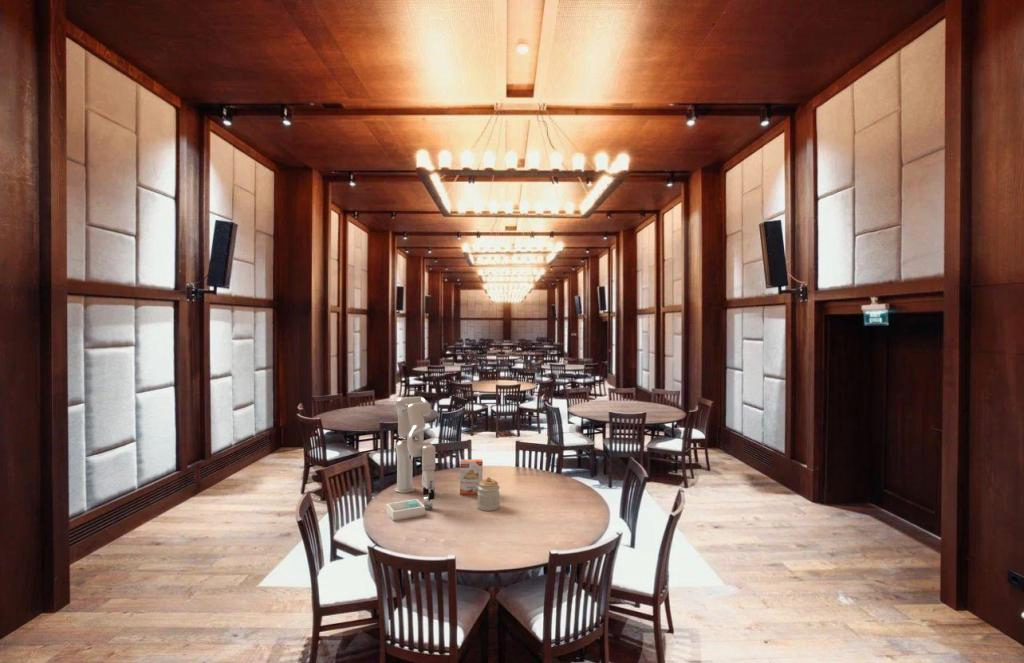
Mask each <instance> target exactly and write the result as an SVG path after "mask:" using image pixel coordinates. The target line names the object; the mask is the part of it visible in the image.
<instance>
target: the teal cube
mask: <svg viewBox="0 0 1024 663" xmlns="http://www.w3.org/2000/svg"><path fill="white" fill-rule="evenodd" d="M413 500H414V499H413ZM416 507H418V502H417V501H416V500H414V501H408V502H407V509H410V508H416Z"/></svg>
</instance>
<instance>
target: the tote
mask: <svg viewBox="0 0 1024 663" xmlns="http://www.w3.org/2000/svg"><path fill="white" fill-rule="evenodd" d="M414 500H416V501H417V502H418V507H416V508H410V509H407V502H408V501H414ZM385 514H387V516H388V515H389V516H388V517H389V518H390V520H392V522H396V521H401V520H407V519H408V520H409V519H413V518H419V517H424V516H426V510H425V506H424V503H422V502H421V501H420V500H419V499H418V498H414V499H410V500H409V499H408V500H401V501H397V502H396V501H394V502H391V503H390V502H388V503H386V504H385Z"/></svg>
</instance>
